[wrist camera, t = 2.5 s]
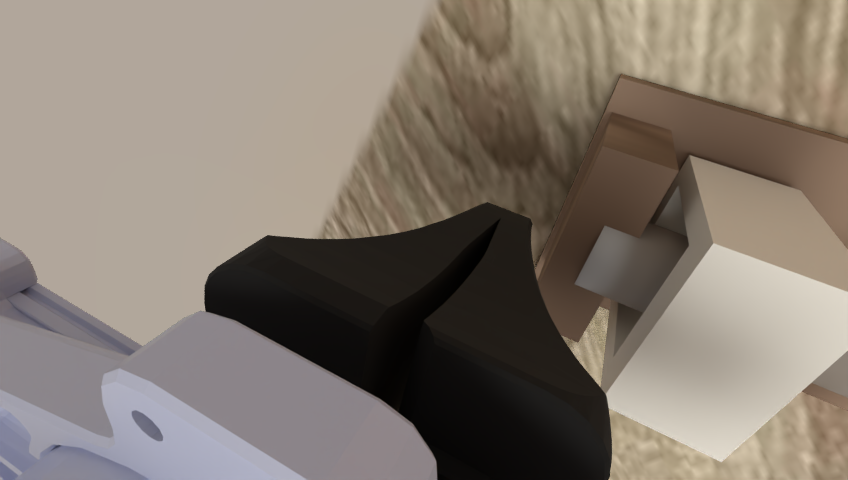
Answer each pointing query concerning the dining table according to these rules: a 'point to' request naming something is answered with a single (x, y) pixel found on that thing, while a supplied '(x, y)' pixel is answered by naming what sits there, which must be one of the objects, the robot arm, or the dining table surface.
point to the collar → (730, 312)
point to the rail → (647, 186)
